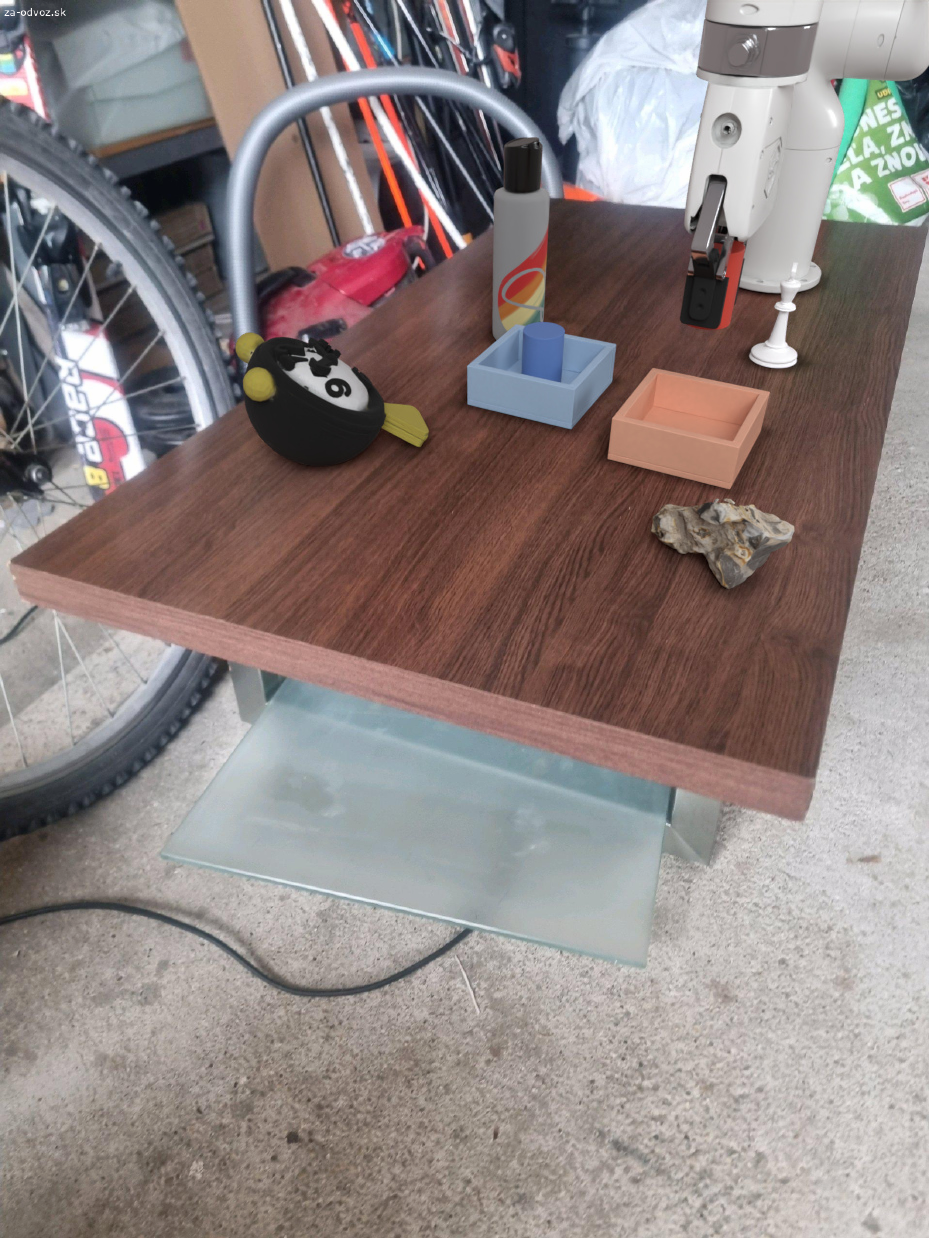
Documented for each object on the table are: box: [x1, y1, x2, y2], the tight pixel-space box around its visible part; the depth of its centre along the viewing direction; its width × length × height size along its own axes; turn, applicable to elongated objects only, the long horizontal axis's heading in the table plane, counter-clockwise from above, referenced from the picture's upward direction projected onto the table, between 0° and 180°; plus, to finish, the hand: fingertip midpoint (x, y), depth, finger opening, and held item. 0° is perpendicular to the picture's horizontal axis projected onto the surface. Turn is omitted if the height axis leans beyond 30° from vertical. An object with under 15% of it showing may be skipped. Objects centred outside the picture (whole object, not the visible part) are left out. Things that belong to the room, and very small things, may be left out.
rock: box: [650, 497, 795, 590], centre depth 64 cm, size 9×7×10 cm
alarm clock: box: [235, 332, 430, 467], centre depth 75 cm, size 12×15×15 cm
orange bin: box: [607, 367, 771, 490], centre depth 78 cm, size 11×11×4 cm
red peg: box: [685, 240, 745, 331], centre depth 70 cm, size 4×4×6 cm
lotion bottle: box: [492, 136, 551, 341], centre depth 91 cm, size 6×6×20 cm
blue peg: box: [521, 321, 566, 383], centre depth 85 cm, size 4×4×6 cm
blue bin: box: [466, 324, 617, 430], centre depth 86 cm, size 11×11×4 cm
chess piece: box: [748, 262, 801, 369], centre depth 89 cm, size 5×5×10 cm
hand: (707, 312), depth 71 cm, fingers closed on red peg, 4 cm apart
